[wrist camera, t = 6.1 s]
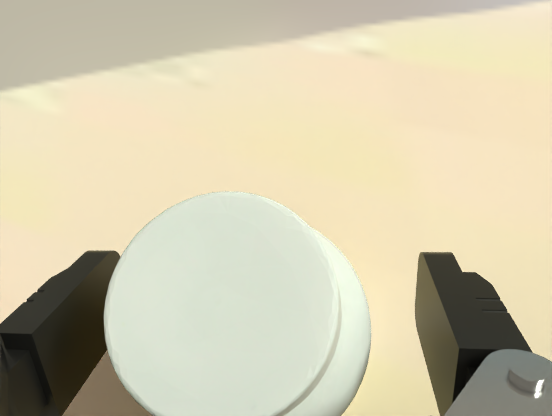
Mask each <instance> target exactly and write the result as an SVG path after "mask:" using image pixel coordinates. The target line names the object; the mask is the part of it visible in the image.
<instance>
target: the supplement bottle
mask: <svg viewBox="0 0 552 416" xmlns="http://www.w3.org/2000/svg"><path fill="white" fill-rule="evenodd" d="M104 334H105V341H106V346H107V350H108V354H109V357H110V360H111V363H112V365H113V368H114V370H115V372H116V374H117V376H118V377H119V379H120V381H121V383H122V384H123V386H124V387H125V389H126V390H127V391H128V392H129V393H130V395H131V396H132V397H133V398H134V399H135V401H136V402H137V403H139V404H140V405H141V406H142V407H143V408H144V409H146V410H147V411H148V412H150V413H151V414H152V415H153V416H341V415H342V414H343V413H344V412H345V410H346V409H347V407H348V406H349V405H350V403H351V402H352V400H353V398H354V397H355V395H356V393H357V391H358V388H359V386H360V384H361V382H362V379H363V377H364V374H365V371H366V367H367V364H368V358H369V353H370V344H371V322H370V314H369V307H368V303H367V299H366V296H365V293H364V290H363V287H362V285H361V282H360V280H359V278H358V276H357V274H356V272H355V270H354V269H353V267H352V265H351V264H350V262H349V261H348V260H347V258H346V257H345V256H344V255H343V253H342V252H341V251H340V250H339V249H338V248H337V247H336V246H335V245H334V244H333V243H332V242H331V241H330V240H329V239H327V238H326V237H325V236H324V235H322V234H321V233H319V232H318V231H316V230H315V229H313V228H312V227H310V226H308V224H307V223H306V222H305V221H304V220H302V219H301V218H300V217H299V216H298V215H297V214H295V213H294V212H293V211H291V210H290V209H288V208H287V207H285V206H283V205H281V204H279V203H277V202H275V201H274V200H271V199H268V198H265V197H263V196H260V195H256V194H251V193H244V192H228V191H227V192H213V193H208V194H204V195H199V196H196V197H193V198H190V199H187V200H185V201H182V202H180V203H178V204H176V205H174V206H172V207H170V208H168V209H167V210H165V211H164V212H162V213H161V214H160V215H158V216H157V217H155V218H154V219H153V220H152V221H150V222H149V223H148V224H147V225H146V226H145V227H144V228H143V229H142V230H140V231H139V232H138V233H137V235H136V236H135V237H134V238H133V239H132V241H131V242H130V244H129V245H128V246H127V248H126V249H125V251H124V252H123V254H122V256H121V257H120V259H119V261H118V263H117V265H116V267H115V270H114V272H113V274H112V277H111V280H110V282H109V286H108V290H107V295H106V300H105V308H104Z"/></svg>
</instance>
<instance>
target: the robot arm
mask: <svg viewBox="0 0 552 416" xmlns="http://www.w3.org/2000/svg"><path fill="white" fill-rule="evenodd" d="M119 259H120V255H119V254H118V253H117V252H116V251H87V252H85V253H84V254H83V255H82V256H81V257H80V258H79V259H78V260H76V261H75V262H74V263H73V264H72V265H71V266H70V267H69V268H68V269H66V270H64V271H62V272H60V273H59V274H57V275H55V276H53V277H51V278H50V279H49V280H48V281H47V282H46V283H44V284H43V285H42V286H41V287H40V288H39V289H38V290H37V292H35V293H34V294H32V295H31V296H30V297H29V298H28V299H27V302H24V303H23V304H21V305H20V306H19V307H18V308H17V309H16V310H15V311H14V312H13V313H12V314H11V315H9V316H8V317H7V318H6V319H5V320H4V321H3V322H2V323H1V324H0V416H62V415H63V413H64V412H65V410H66V409H67V407H68V406H69V405H70V403H71V402H72V400H73V399H74V397H75V396H76V394H77V393H78V391H79V390H80V388H81V387H82V386H83V384H84V383H85V381H86V380H87V378H88V377H89V375H90V374H91V372H92V371H93V369H94V368H95V367H96V365H97V364H98V362H99V361H100V359H101V358H102V356H103V355H104V353H105V352H106V350H107V346H106V341H105V334H104V308H105V300H106V295H107V290H108V286H109V282H110V280H111V277H112V274H113V272H114V270H115V267H116V265H117V263H118V261H119ZM415 319H416V327H417V332H418V335H419V339H420V343H421V346H422V350H423V354H424V357H425V361H426V365H427V369H428V372H429V376H430V380H431V383H432V387H433V391H434V394H435V398H436V402H437V406H438V409H439V413H440V416H552V362H551V361H549V360H548V359H546V358H544V357H542V356H539V355H537V354H534V353H533V352H532V351H531V349H530V347H529V346H528V344H527V342H526V341H525V339H524V337H523V336H522V334H521V332H520V331H519V329H518V327H517V326H516V324H515V322H514V321H513V319H512V317H511V316H510V314H509V313H507V309H506V307H505V306H504V304H503V302H502V301H500V297H499V296H498V294H497V292H496V291H495V289H494V287H493V286H492V284H491V283H489V282H488V281H487V280H485V279H484V278H482V277H481V276H480V275H478V274H477V273H476V272H462V270H461V268H460V267H459V265H458V263H457V261H456V259H455V257H454V255H453V253H451V252H421V253H420V255H419V260H418V272H417V286H416V299H415Z"/></svg>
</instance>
